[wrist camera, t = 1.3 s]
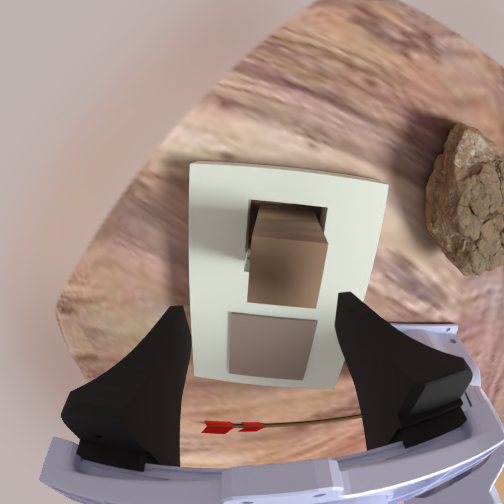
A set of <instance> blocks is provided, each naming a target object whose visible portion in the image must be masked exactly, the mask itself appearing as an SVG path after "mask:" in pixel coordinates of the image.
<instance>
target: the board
mask: <svg viewBox="0 0 504 504" xmlns="http://www.w3.org/2000/svg"><path fill="white" fill-rule="evenodd" d="M388 187H389V185H388V184H386V183H384V182H382V181H380V180H377V179H371V178H365V177H359V176H353V175H346V174H340V173H333V172H325V171H318V170H310V169H301V168H292V167H282V166H272V165H261V164H248V163H233V162H215V161H197V162H193V163H190V173H189V287H190V313H191V333H192V349H193V363H194V376H196V377H202V378H208V379H215V380H222V381H229V382H237V383H245V384H254V385H264V386H276V387H290V388H308V389H334V388H335V385H336V382H337V380H338V377H339V375H340V372H341V369H342V366H343V364H344V361H345V358H344V356H343V353H342V351H341V348H340V345H339V343H338V339H337V335H336V331H335V326H334V324H335V316H336V308H337V300H338V293H341V292H349V291H351V292H352V293H353V294H354V295H355V296H357V297H358V298H359V299H360V300H361V301H362V302H363V301H364V297H365V294H366V290H367V286H368V283H369V279H370V275H371V271H372V267H373V263H374V259H375V254H376V250H377V245H378V241H379V236H380V231H381V226H382V221H383V216H384V211H385V205H386V199H387V193H388ZM251 200H263V201H273V202H283V203H293V204H302V205H311V206H320V207H322V209H321V216H320V223H319V224H320V226H321V229H322V231H323V233H324V235H325V237H326V239H327V242H328V249H327V255H326V260H325V266H324V271H323V277H322V282H321V287H320V292H319V297H318V302H317V306H316V309H313V308H301V307H289V306H278V305H268V304H258V303H248V302H247V294H248V280H249V267H250V259H247V253H248V239H249V225H250V211H251Z"/></svg>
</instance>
